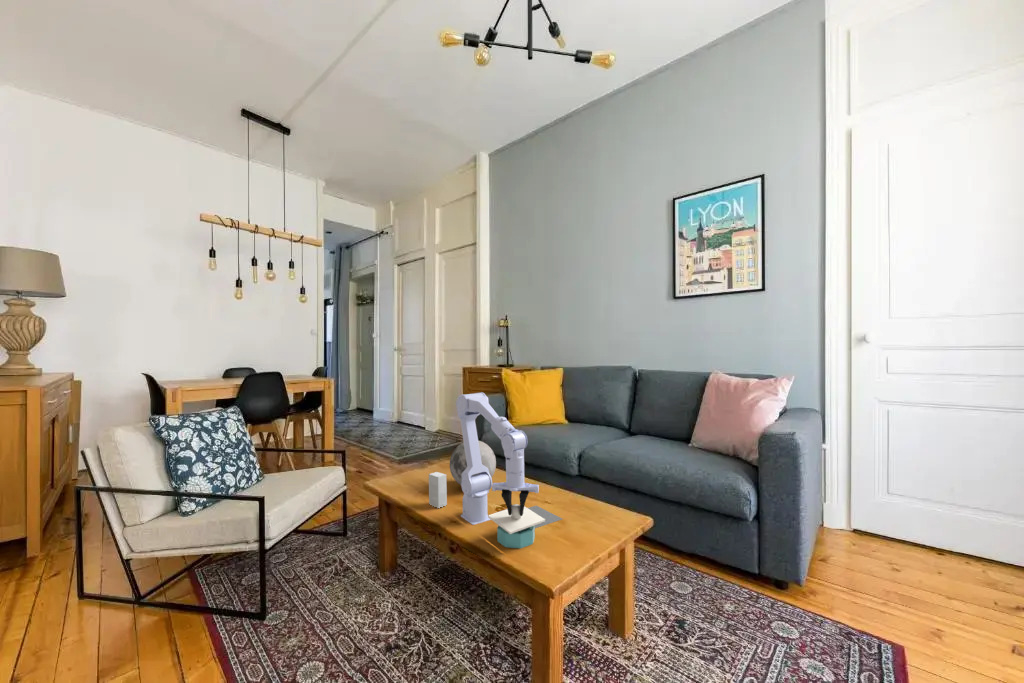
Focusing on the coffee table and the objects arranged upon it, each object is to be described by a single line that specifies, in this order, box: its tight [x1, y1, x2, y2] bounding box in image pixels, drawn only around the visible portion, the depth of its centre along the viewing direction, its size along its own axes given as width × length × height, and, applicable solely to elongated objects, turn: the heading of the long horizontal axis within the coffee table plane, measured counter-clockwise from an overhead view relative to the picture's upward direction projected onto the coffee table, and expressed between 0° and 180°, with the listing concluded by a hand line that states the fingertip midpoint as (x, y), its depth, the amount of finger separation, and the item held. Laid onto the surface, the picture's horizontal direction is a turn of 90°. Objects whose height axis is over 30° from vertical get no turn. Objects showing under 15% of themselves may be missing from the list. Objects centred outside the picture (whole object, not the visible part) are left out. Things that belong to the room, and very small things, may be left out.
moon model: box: [449, 440, 497, 486], centre depth 178 cm, size 20×20×20 cm
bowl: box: [496, 525, 536, 549], centre depth 129 cm, size 11×11×4 cm
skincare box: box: [428, 471, 448, 509], centre depth 158 cm, size 6×4×12 cm
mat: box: [527, 505, 563, 529], centre depth 145 cm, size 15×15×1 cm
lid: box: [488, 504, 545, 534], centre depth 129 cm, size 13×13×4 cm
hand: (515, 514), depth 129 cm, fingers closed on lid, 3 cm apart
